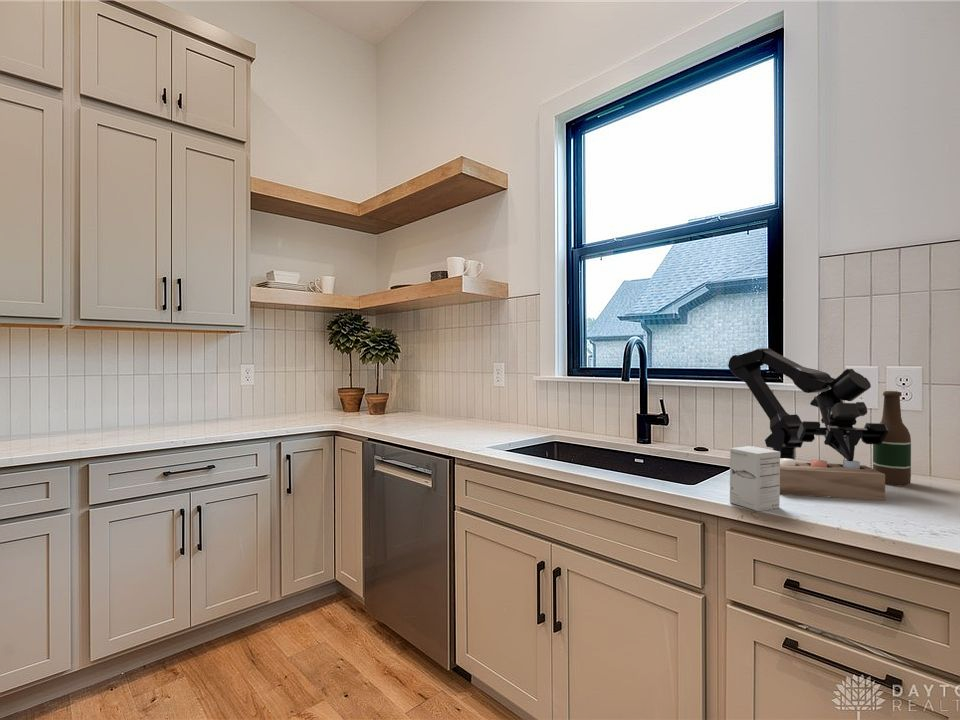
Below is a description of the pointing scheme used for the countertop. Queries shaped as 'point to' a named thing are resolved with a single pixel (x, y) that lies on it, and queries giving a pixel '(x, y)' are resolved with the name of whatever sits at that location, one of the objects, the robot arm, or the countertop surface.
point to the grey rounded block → (851, 464)
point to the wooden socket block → (832, 481)
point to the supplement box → (755, 477)
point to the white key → (787, 462)
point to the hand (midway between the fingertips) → (851, 460)
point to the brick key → (818, 463)
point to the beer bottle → (893, 444)
